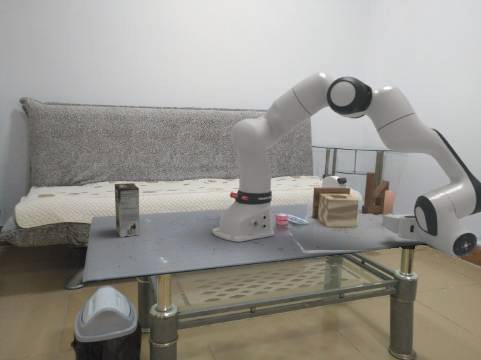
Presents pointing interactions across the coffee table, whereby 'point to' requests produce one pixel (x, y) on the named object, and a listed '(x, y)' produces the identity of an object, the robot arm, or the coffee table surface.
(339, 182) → the panda figurine
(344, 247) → the coffee table surface
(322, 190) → the jig
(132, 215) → the coffee box
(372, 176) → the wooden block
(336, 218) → the socket block
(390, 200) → the dowel
